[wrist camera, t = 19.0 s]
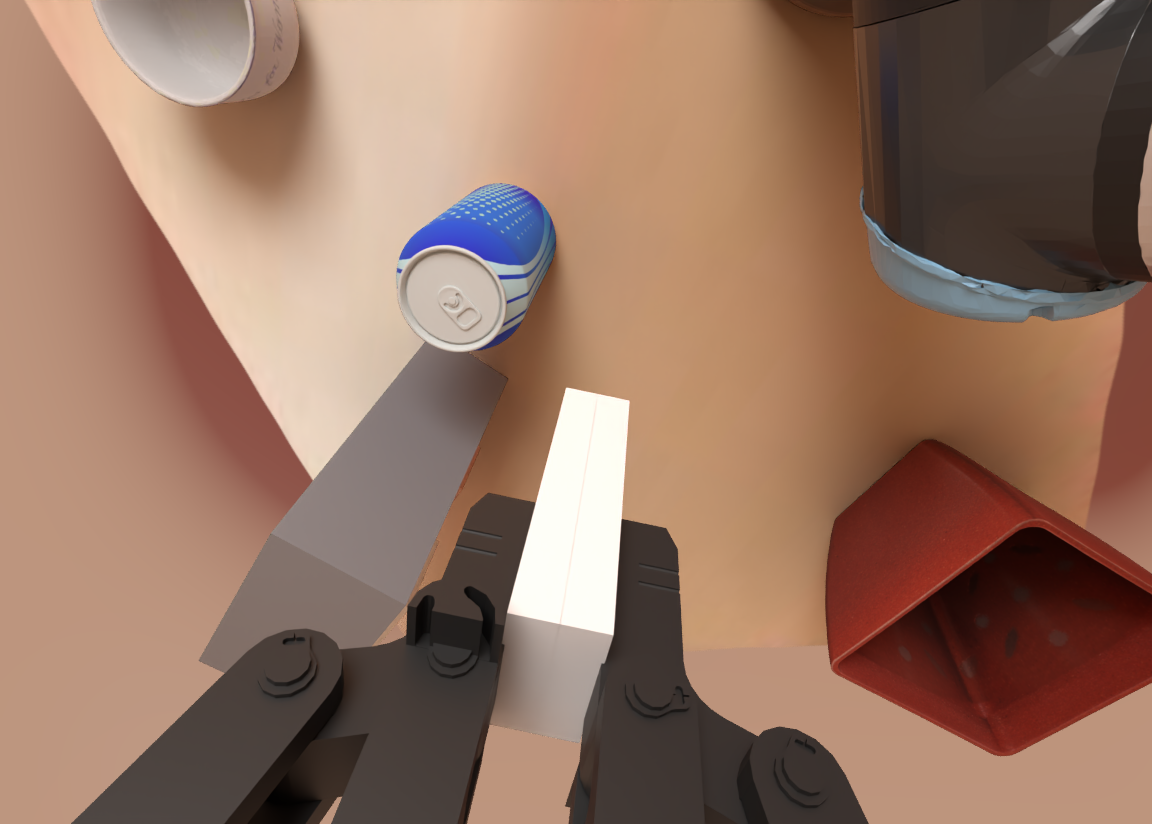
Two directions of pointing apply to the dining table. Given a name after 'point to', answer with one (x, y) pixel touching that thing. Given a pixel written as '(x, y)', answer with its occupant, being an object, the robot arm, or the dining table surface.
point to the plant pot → (981, 604)
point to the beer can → (476, 268)
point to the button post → (367, 513)
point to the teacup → (204, 46)
